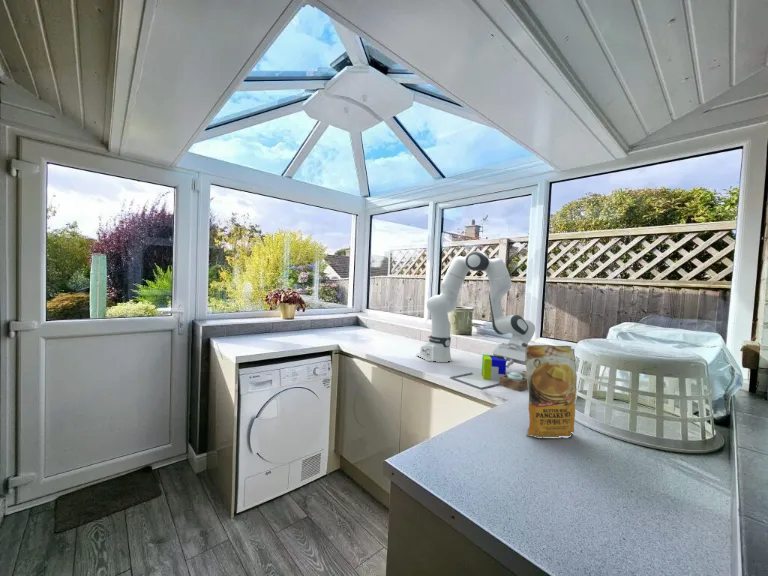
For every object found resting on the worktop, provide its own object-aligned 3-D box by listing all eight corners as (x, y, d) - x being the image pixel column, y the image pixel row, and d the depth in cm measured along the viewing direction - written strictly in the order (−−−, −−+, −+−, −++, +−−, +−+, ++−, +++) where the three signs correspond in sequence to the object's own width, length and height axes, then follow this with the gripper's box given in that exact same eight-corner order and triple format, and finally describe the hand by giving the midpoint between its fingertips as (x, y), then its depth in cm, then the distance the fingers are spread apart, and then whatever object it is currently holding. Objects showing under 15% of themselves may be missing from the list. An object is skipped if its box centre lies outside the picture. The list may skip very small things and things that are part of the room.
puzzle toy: (505, 381, 156) (506, 360, 156) (483, 379, 158) (484, 358, 158) (501, 375, 166) (502, 356, 165) (481, 373, 168) (482, 354, 167)
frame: (449, 378, 156) (449, 376, 156) (471, 373, 166) (471, 372, 166) (481, 389, 141) (481, 388, 141) (503, 384, 151) (503, 382, 151)
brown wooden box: (499, 384, 150) (499, 372, 149) (518, 379, 159) (519, 368, 159) (518, 391, 142) (519, 378, 141) (538, 385, 151) (538, 373, 151)
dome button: (504, 378, 149) (505, 372, 149) (512, 376, 153) (512, 370, 153) (517, 382, 144) (517, 376, 144) (525, 380, 148) (525, 374, 147)
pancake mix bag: (514, 429, 103) (519, 343, 103) (568, 428, 106) (573, 344, 105) (526, 440, 97) (532, 347, 96) (583, 438, 99) (589, 348, 99)
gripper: (497, 338, 179) (485, 358, 174) (532, 346, 163) (521, 367, 157) (501, 346, 182) (490, 365, 176) (536, 354, 165) (525, 375, 160)
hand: (505, 366), depth 167 cm, fingers closed
